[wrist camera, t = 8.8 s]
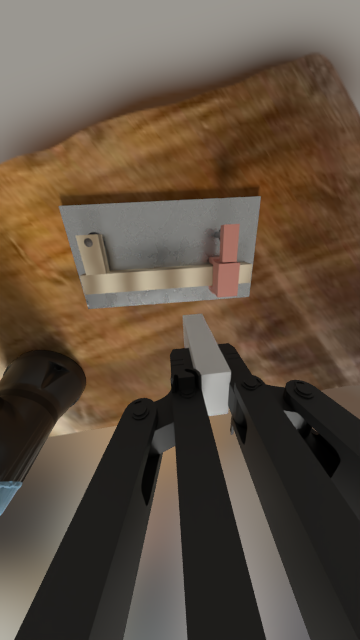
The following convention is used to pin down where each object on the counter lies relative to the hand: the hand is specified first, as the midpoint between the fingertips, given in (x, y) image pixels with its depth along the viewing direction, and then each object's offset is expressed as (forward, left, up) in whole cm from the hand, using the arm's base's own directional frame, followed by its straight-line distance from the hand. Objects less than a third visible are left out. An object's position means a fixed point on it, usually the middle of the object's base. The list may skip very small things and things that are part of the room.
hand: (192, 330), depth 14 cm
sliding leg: (+7, +3, -19) cm, 20 cm away
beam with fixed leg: (-1, +3, -19) cm, 20 cm away
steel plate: (-1, +4, -20) cm, 21 cm away
